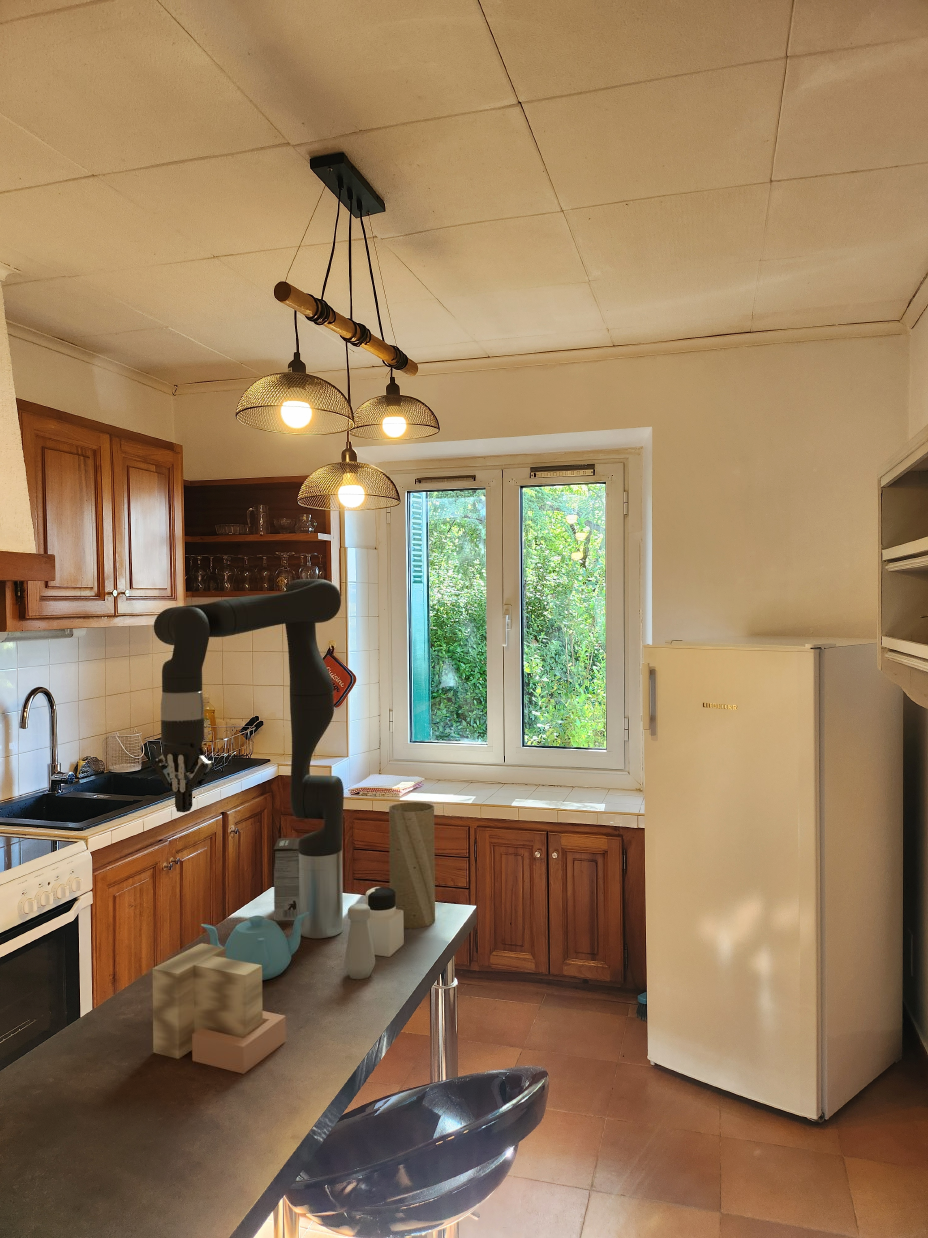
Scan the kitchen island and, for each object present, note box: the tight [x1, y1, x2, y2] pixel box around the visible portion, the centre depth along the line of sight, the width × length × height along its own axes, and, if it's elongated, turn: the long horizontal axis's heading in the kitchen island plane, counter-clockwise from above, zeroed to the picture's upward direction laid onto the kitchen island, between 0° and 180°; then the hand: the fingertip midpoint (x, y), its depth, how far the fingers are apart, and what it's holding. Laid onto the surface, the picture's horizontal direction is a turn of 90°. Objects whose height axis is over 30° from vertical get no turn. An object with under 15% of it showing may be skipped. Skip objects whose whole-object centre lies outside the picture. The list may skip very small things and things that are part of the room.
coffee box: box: [273, 837, 301, 921], centre depth 192 cm, size 9×6×16 cm
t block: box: [152, 942, 263, 1060], centre depth 133 cm, size 15×11×13 cm
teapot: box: [200, 912, 309, 981], centre depth 161 cm, size 15×15×10 cm
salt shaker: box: [344, 903, 376, 980], centre depth 158 cm, size 6×6×13 cm
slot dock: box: [191, 1010, 287, 1074], centre depth 131 cm, size 10×10×4 cm
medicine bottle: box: [365, 886, 405, 958], centre depth 171 cm, size 7×7×12 cm
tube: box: [388, 801, 436, 929], centre depth 187 cm, size 10×10×25 cm
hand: (183, 811), depth 154 cm, fingers closed
